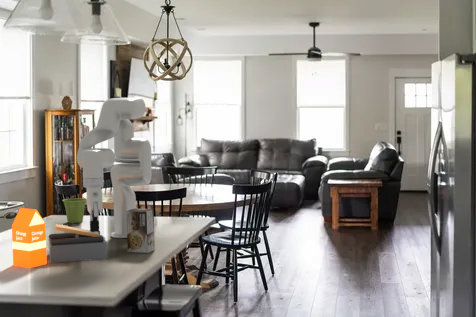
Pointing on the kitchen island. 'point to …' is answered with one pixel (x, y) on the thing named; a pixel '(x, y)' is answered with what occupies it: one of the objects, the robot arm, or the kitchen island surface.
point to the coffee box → (140, 230)
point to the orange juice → (29, 239)
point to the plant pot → (74, 209)
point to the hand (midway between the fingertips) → (94, 231)
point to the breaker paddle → (76, 230)
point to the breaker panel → (77, 251)
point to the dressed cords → (73, 238)
